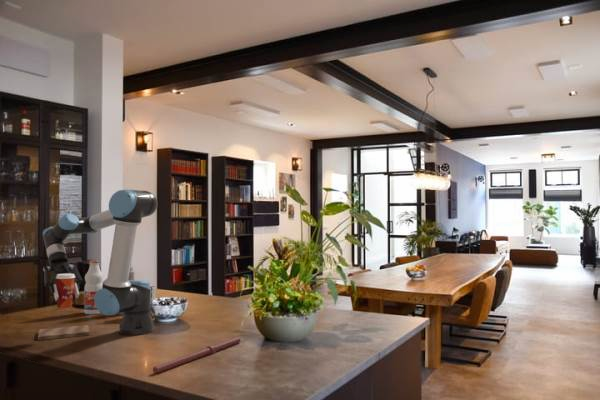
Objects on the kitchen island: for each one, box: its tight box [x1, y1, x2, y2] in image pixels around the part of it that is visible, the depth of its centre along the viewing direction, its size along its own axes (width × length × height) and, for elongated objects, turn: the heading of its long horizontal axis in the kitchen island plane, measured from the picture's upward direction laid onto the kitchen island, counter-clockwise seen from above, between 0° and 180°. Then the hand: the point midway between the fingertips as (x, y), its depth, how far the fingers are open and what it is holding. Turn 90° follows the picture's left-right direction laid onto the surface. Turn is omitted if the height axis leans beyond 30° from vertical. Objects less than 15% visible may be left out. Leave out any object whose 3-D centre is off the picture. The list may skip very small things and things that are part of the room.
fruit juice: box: [83, 259, 104, 315], centre depth 258 cm, size 9×9×28 cm
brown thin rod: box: [152, 336, 241, 375], centre depth 180 cm, size 45×3×3 cm, turn 149°
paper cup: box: [55, 273, 75, 309], centre depth 207 cm, size 8×8×14 cm
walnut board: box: [37, 324, 90, 341], centre depth 213 cm, size 20×14×2 cm
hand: (67, 297), depth 204 cm, fingers closed on paper cup, 8 cm apart
